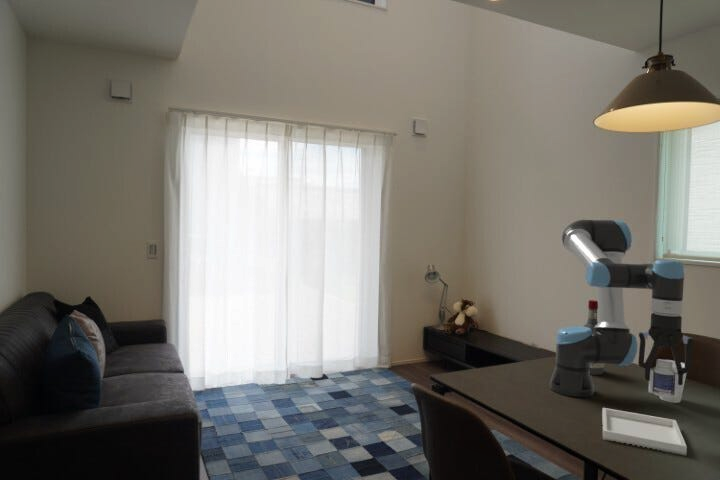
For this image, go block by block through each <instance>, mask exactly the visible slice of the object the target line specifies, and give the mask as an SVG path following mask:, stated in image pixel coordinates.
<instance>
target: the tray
mask: <svg viewBox="0 0 720 480" xmlns="http://www.w3.org/2000/svg"><path fill="white" fill-rule="evenodd" d="M601 417H602V419H601V422H602V425H603V426H602V440H603V441H604V440H605V441H610V442H614V441H615V442H616V443H619V442H620V443H621V444H624V443H626V444H625V445H629V444H632V445H631V446H635V445H637V446H636V447H640V446H642V447H641V448H645V447H647V448H646V449H650V448H652V450H655V449H657V451H660V450H661V452H665V453H670V452H671V454H676V455H681V456H687V451H688V450H687V449H688V447H687V444H686V441H685V439H684V437H683V434H682V432H681V429H680V426H679V424H678V423H677V420H676V419H672V418H671V419H670V418H666V417H665V418H664V417H659V416H653V415H649V414H642V413H638V412H631V411H624V410H619V409H615V408H614V409H613V408H608V407H607V408H606V407H602V411H601ZM615 442H614V443H615Z"/></svg>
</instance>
